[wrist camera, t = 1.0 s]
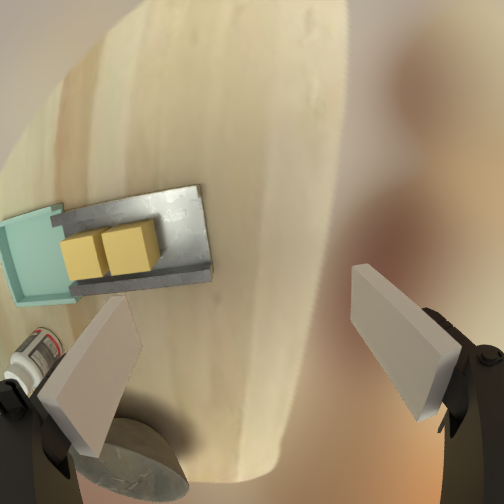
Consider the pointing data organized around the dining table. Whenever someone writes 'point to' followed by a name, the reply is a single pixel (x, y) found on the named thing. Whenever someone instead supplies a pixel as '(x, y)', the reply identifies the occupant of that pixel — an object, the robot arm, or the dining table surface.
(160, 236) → the slot rail
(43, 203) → the dining table surface
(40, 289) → the tray
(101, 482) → the bowl
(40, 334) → the pill bottle
